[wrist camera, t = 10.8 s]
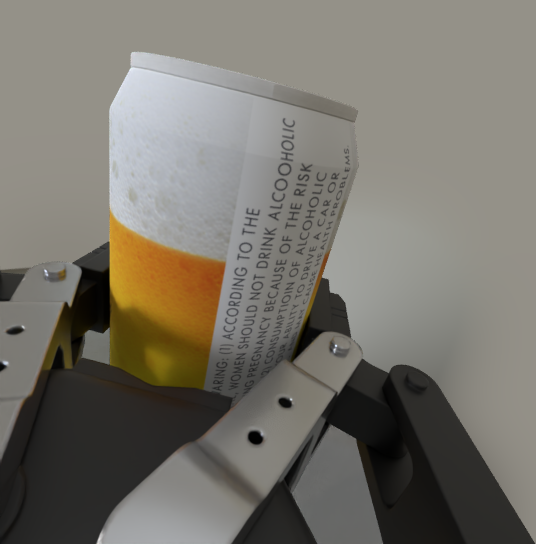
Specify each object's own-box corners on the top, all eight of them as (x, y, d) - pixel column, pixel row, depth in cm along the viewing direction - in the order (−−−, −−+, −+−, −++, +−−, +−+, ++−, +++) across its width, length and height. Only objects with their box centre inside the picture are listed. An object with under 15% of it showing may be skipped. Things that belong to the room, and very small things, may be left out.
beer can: (211, 391, 18) (268, 96, 12) (279, 488, 14) (424, 127, 8) (92, 441, 14) (77, 42, 8) (142, 592, 10) (195, 50, 4)
